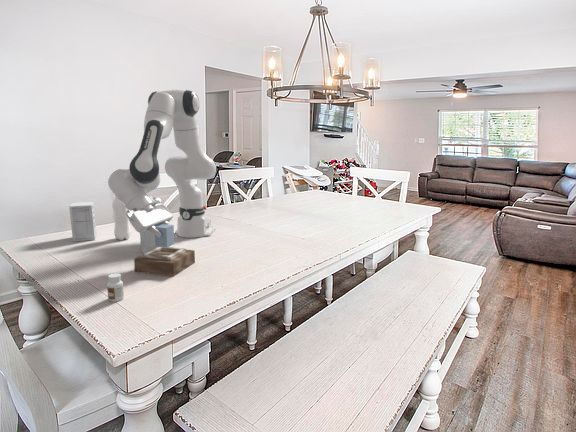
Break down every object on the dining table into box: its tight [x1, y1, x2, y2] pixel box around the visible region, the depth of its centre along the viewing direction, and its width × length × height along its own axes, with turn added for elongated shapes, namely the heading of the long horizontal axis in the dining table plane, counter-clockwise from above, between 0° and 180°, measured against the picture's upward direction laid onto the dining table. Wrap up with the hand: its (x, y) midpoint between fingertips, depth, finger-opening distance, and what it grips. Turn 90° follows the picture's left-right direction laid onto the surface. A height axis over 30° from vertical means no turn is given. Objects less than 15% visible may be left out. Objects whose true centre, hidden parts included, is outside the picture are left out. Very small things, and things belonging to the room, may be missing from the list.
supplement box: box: [68, 201, 98, 243], centre depth 180 cm, size 10×9×17 cm
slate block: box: [155, 224, 175, 248], centre depth 144 cm, size 5×5×8 cm
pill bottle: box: [106, 273, 125, 303], centre depth 117 cm, size 4×4×8 cm
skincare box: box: [139, 230, 157, 254], centre depth 163 cm, size 6×4×12 cm
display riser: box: [133, 246, 196, 277], centre depth 146 cm, size 16×16×6 cm
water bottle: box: [111, 195, 132, 241], centre depth 180 cm, size 7×7×25 cm
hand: (165, 234), depth 143 cm, fingers closed on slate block, 5 cm apart
